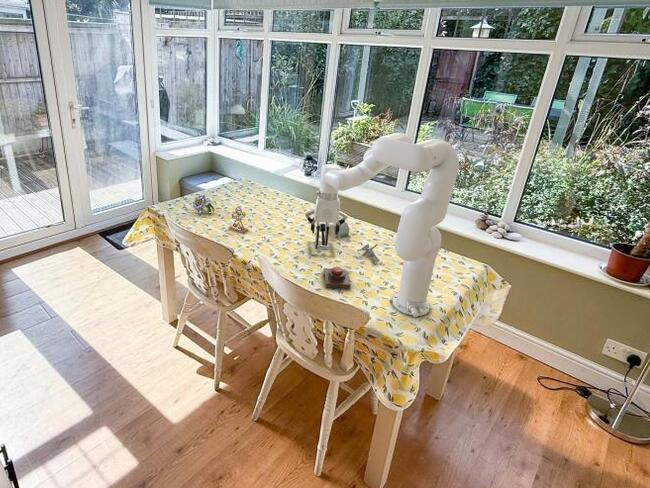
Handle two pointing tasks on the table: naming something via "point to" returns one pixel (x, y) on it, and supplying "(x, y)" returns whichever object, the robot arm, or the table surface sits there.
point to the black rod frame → (318, 234)
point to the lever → (322, 230)
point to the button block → (336, 279)
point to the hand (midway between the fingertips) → (324, 232)
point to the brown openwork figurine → (239, 221)
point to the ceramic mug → (342, 231)
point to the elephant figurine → (370, 253)
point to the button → (337, 271)
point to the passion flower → (202, 204)
